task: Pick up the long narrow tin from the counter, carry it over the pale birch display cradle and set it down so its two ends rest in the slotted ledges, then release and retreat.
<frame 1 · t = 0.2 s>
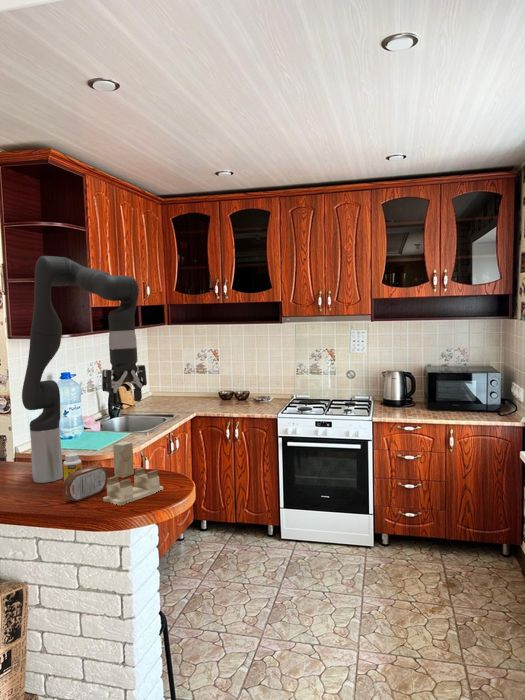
hand: (126, 403, 150), 28 cm above the worktop, tool pointing down, fingers open, 8 cm apart
cradle: (134, 495, 157), on the worktop
supplement bottle: (73, 486, 170), on the worktop
box: (124, 475, 179), on the worktop
tin: (87, 497, 158), on the worktop
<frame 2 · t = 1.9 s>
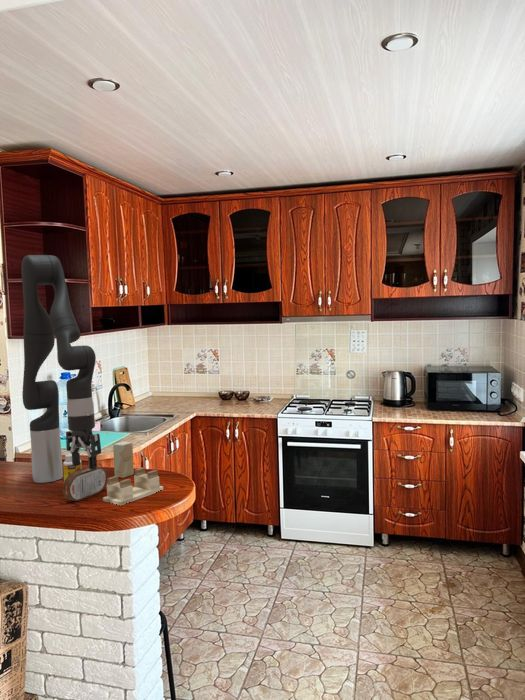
hand: (84, 467, 158), 9 cm above the worktop, tool pointing down, fingers open, 8 cm apart
nothing on the worktop moved.
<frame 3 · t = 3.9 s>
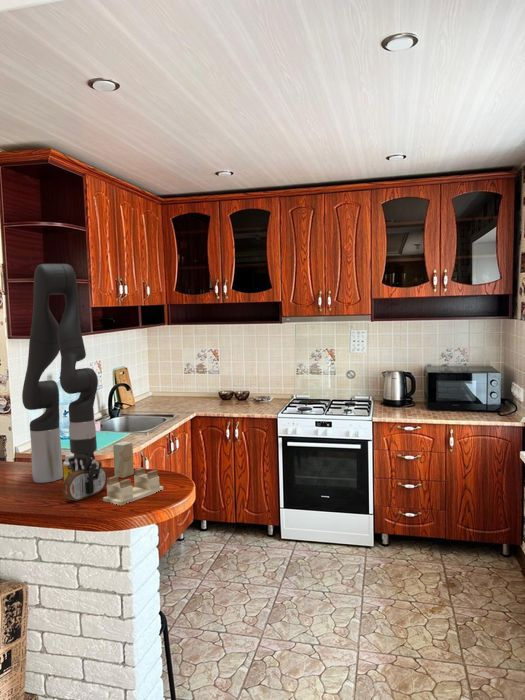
hand: (86, 492, 158), 1 cm above the worktop, tool pointing down, fingers closed on tin, 3 cm apart
tin: (87, 497, 158), on the worktop, touching gripper
everything else where it was.
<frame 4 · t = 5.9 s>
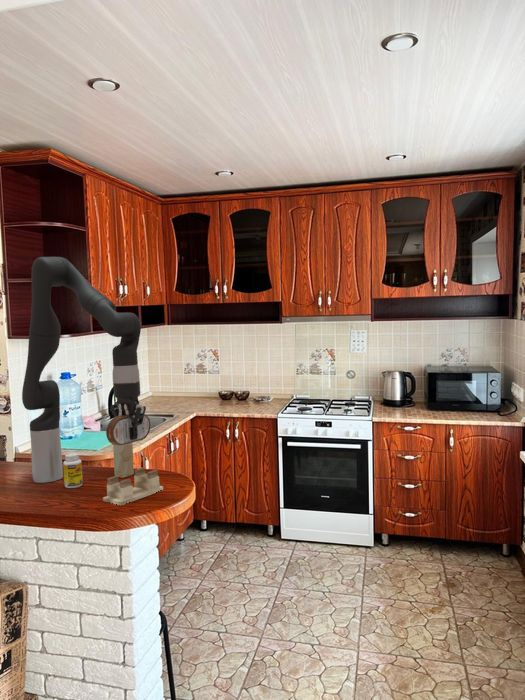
hand: (130, 438, 156), 17 cm above the worktop, tool pointing down, fingers closed on tin, 2 cm apart
tin: (130, 443, 156), point 16 cm above the worktop, touching gripper
everything else where it was.
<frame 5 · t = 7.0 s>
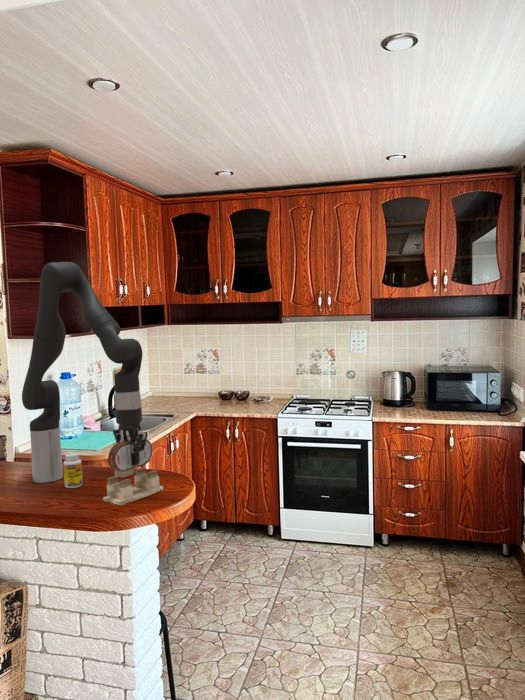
hand: (131, 464, 157), 9 cm above the worktop, tool pointing down, fingers closed on tin, 2 cm apart
tin: (132, 468, 157), point 8 cm above the worktop, touching gripper
everything else where it was.
when the fingers open (6 cm above the worktop, at t = 8.1 s): tin stays where it is, resting on cradle.
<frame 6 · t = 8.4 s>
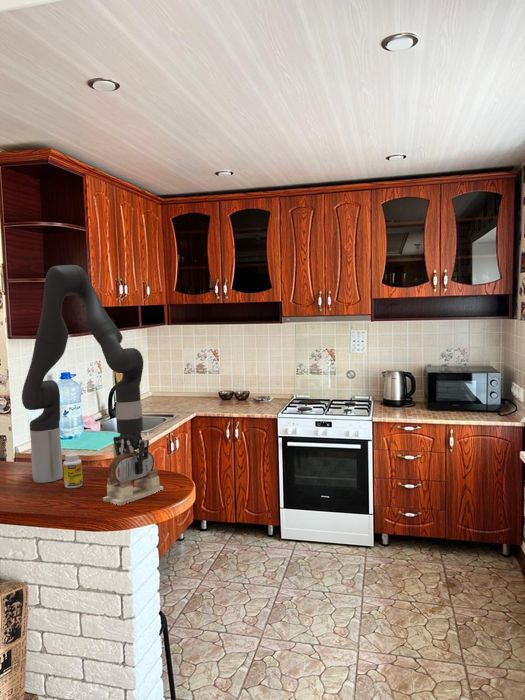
hand: (132, 472, 157), 7 cm above the worktop, tool pointing down, fingers open, 5 cm apart
tin: (133, 481, 157), point 4 cm above the worktop, touching cradle
everything else where it was.
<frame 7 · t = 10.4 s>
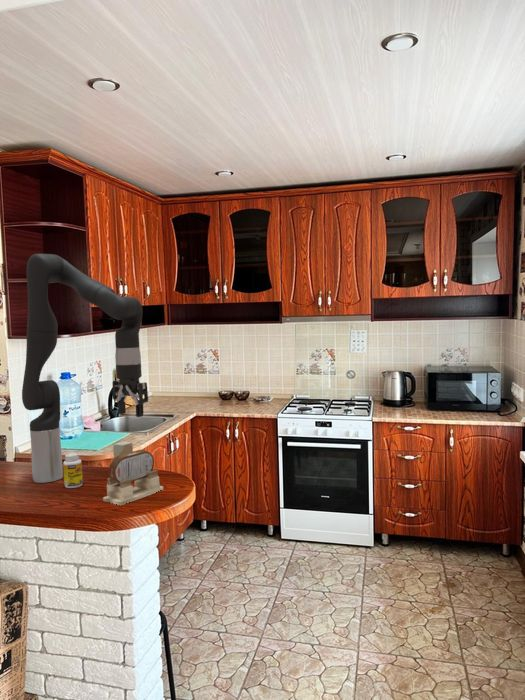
hand: (130, 415, 162), 23 cm above the worktop, tool pointing down, fingers open, 8 cm apart
nothing on the worktop moved.
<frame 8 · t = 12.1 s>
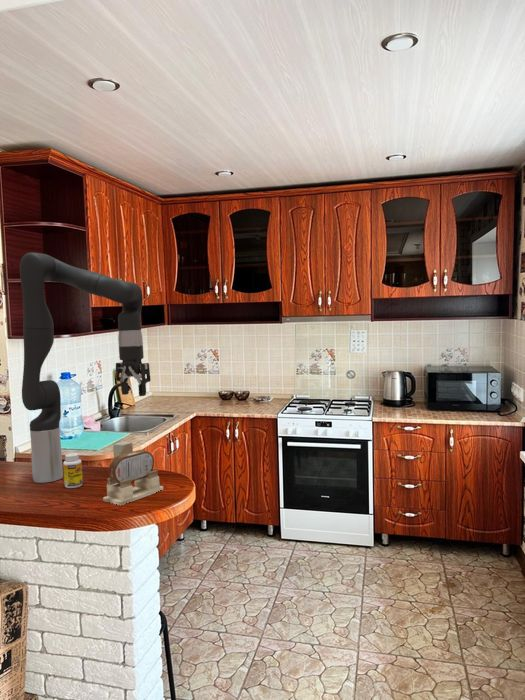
hand: (133, 395, 170), 28 cm above the worktop, tool pointing down, fingers open, 8 cm apart
nothing on the worktop moved.
at the end: tin 0.2 cm off-centre on the cradle, point 4.3 cm above the cradle's base; tin tilted 0°; the gripper is holding nothing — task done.
